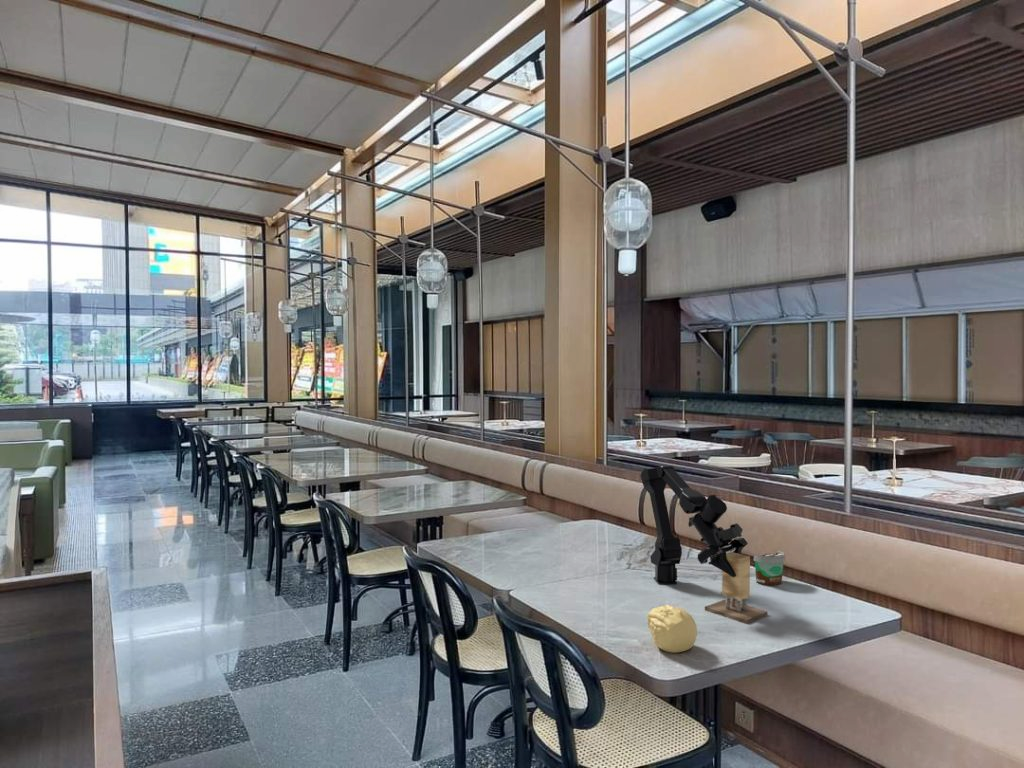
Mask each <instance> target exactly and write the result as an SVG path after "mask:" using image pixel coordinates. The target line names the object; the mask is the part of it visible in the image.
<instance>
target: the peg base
mask: <svg viewBox="0 0 1024 768" xmlns="http://www.w3.org/2000/svg"><path fill="white" fill-rule="evenodd" d="M730 598H731V597H725V599H722V600H719V601H717V602H714V603H711V604H709V605H706V606H704V611H707V612H710V613H713V614H716V615H719V616H721V615H722V617H724V618H727V617H728V619H732V620H734V621H736V622H740V623H742V624H746V625H747V624H750V623H752V622H754V621H758V620H759V619H762V618H764V617H766V615H767V616H768V614H769V613H768V611H766V610H764V609H761V608H758V607H757V608H756V607H755V606H751V605H747V598H745V599H742V600H737V599H734V598H731V599H730ZM736 600H737V601H736Z"/></svg>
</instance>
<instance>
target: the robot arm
mask: <svg viewBox="0 0 1024 768" xmlns="http://www.w3.org/2000/svg"><path fill="white" fill-rule="evenodd" d="M640 480H641V482H642V486H643V488H644V490H646V492H647V493H648V495H649V497H650V502H651V508H652V513H653V518H654V521H655V523H654V524H655V528H656V532H657V536H656V537H657V538H656V539H655V543H654V549H655V550H654V551H653V552H652V554H650V556H649V557H650V563H651V564H653V565H654V571H655V572H654V577H653V579H654V581H655V582H656V583H657V584H658V585H677V584H678V582H677V580H678V569H677V567H676V565H680V563H681V560H682V555H683V551H682V550H683V548H682V545H681V539H680V538H679V536H678V537H676V536H675V535H674V534H673V530H672V526H671V525H672V524H671V521H670V516H669V515H670V514H669V511H668V505H667V501H666V496H665V489H666V487H667V486H668V487H669V489H671V490H672V491H673V493H674V494H675V495H676V497H677V498H678V500H679V501H678V505H679V506H680V507H681V510H682V511H683V512H684V513H685V514H686V515H691V514H694V516H691V517H688V527H689V528H692V527H694V528H695V530H696V531H697V532H698V534H699V535H700V536H701V538H700V542H701V543H705V544H706V545H707V546H705V547H704V548H703V549H702V550H701V551H700V552H699V553H698V554H697V561H698V562H699V563H700V565H703V564H706V563H707V562H708V559H709V560H710V561H709V562H708V564H709V565H711V566H713V567H716V568H717V569H719V570H721V572H722V571H724V572H725V573H727V574H729V575H730V576H732V577H735V576H736V574H735V572H734V570H733V568H732V567H731V565H730V564H729V562H728V560H727V558H726V554H728V553H731V552H734V553H738V554H742V550H743V549H744V548H745V547H746V546H747V545H748V544H749V542H748V541H747V540H746V539H745V537H742V536H743V535H742V533H743V531H744V530H743V528H742V527H741V526H740V525H739V523H737V522H736V523H733V524H730V526H729V528H726V529H724V528H723V527H721V526H720V527H718V525H717V524H716V523H717V522H718V521H719V520H720V519H721V518H722V517H723V516H724V514H726V512H727V510H728V506H727V503H726V502H724V501H723V500H722V499H721V498H719V497H717V495H715V494H709V495H708V496H707V498H706V496H705V495H704V494H703V493H701V492H700V491H698V490H695V489H693V488H692V487H690V486H689V485H688V483H687V482H686V481H685V480H684V479H683V478H682V477H681V475H679V473H678V472H677V471H676V469H675V467H674V466H673V465H667V464H666V465H660V466H657V467H646V468H644V469H643V470H642V471H641V472H640Z"/></svg>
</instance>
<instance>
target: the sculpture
mask: <svg viewBox="0 0 1024 768" xmlns="http://www.w3.org/2000/svg"><path fill="white" fill-rule="evenodd" d="M646 616H647V617H646V618H647V627H648V629H649V631H650V634H651V637H652V641H653V643H654V644H655V646H656V647H658V648H659V649H661V650H662V651H665V652H668V653H672V654H673V653H676V654H677V653H682V652H685V651H688V650H689V649H691V648H692V647H693V646H694V645H695V644H696V640H697V636H698V629H697V628H698V627H697V624H696V621H695V619H694V618H693V616H692V614H690V613H689V612H688V611H687V610H686V609H684V608H681V607H677V606H672V605H671V604H666V605H661V606H657V607H656V606H655V607H654V608H651V610H650V611H649V612H648V613H647V615H646Z"/></svg>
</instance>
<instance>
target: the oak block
mask: <svg viewBox="0 0 1024 768" xmlns="http://www.w3.org/2000/svg"><path fill="white" fill-rule="evenodd" d="M726 558H727V560H728V562H729V564H730V565H731V567H732V568H733V570H734V572H735V574H736V576H735V577H732V576H730V575H729V574H727V573H725V572H724V571H722V570H721V572H722V576H721V577H722V578H721V579H722V580H721V583H722V585H721V586H722V587H721V595H722V596H725V597H727V598H734V599H736V600H737V601H742V599H747V598H750V595H751V593H750V592H751V591H750V590H751V588H750V587H751V585H750V584H751V581H750V579H751V555H750V556H749V555H745V554H742V553H741V554H738V553H734V552H731V553H728V554H726Z"/></svg>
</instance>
